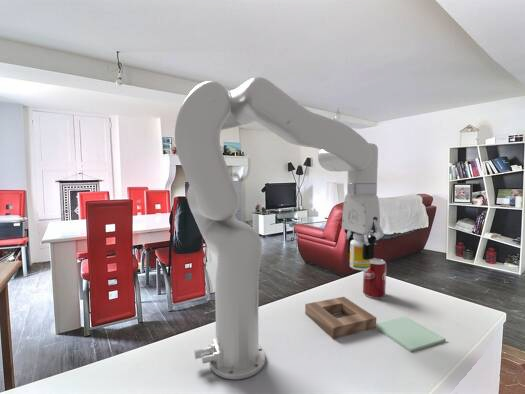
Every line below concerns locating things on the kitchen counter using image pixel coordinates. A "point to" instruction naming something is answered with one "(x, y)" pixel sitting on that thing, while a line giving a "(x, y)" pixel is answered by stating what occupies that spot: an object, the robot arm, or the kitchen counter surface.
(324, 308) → the block
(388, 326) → the place mat
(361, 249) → the supplement bottle
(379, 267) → the soda can
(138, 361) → the kitchen counter surface
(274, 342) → the kitchen counter surface
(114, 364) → the kitchen counter surface
